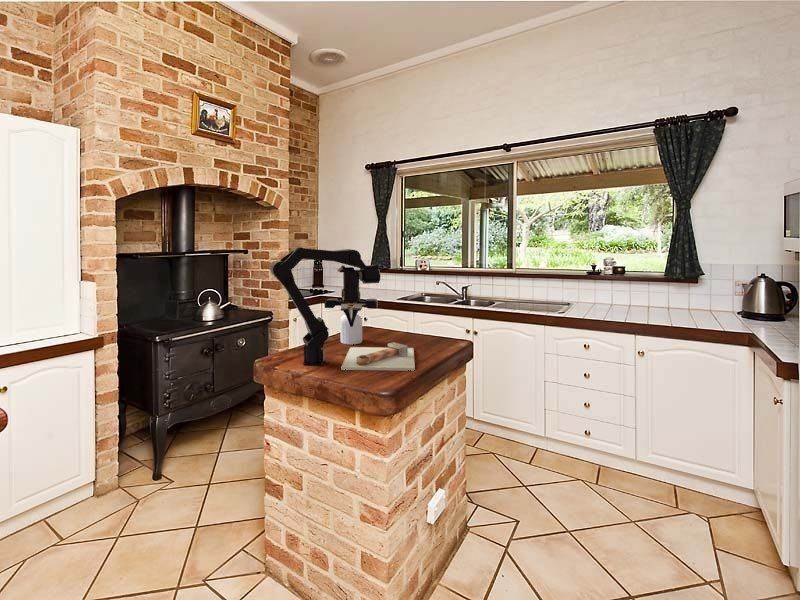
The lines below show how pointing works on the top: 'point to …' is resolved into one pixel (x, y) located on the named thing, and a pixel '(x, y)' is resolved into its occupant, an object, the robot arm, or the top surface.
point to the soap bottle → (351, 330)
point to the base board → (383, 364)
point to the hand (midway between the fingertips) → (351, 326)
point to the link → (376, 356)
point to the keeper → (400, 348)
